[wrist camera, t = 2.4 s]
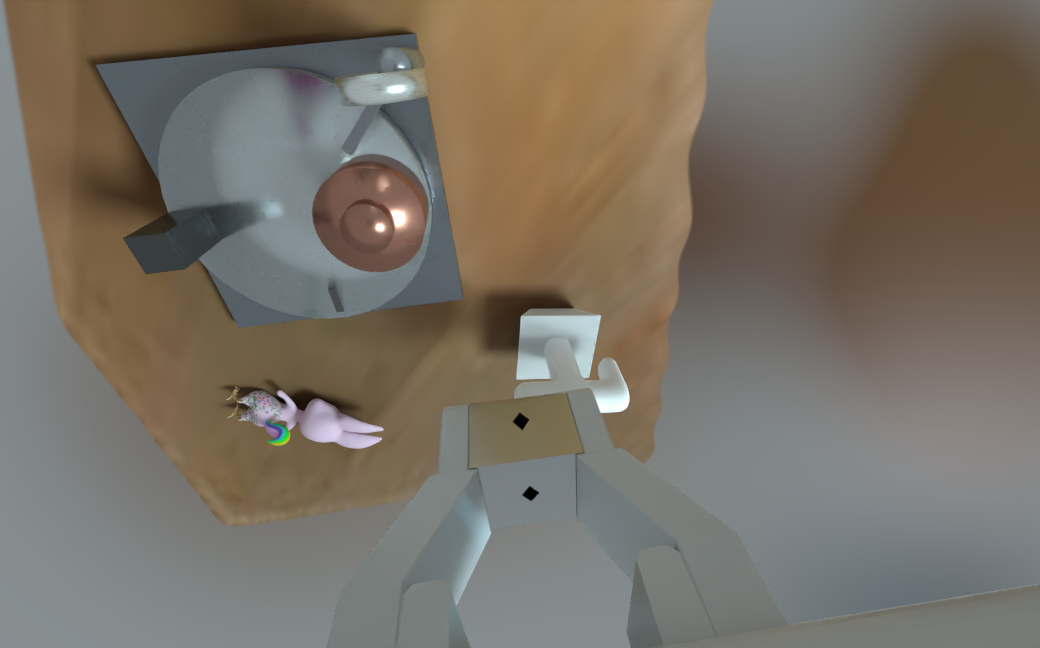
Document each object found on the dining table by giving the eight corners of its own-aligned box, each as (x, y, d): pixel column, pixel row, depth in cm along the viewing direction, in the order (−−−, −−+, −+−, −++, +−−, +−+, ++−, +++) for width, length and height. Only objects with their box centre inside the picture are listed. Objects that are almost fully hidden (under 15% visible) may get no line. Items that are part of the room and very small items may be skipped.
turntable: (118, 81, 27) (22, 91, 21) (402, 53, 28) (385, 55, 22) (243, 318, 37) (202, 369, 31) (450, 292, 38) (447, 337, 32)
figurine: (590, 354, 45) (639, 473, 33) (502, 356, 44) (517, 479, 31) (601, 295, 41) (661, 403, 29) (505, 295, 40) (523, 408, 27)
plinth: (106, 64, 27) (95, 64, 27) (416, 33, 28) (414, 33, 27) (243, 321, 38) (238, 327, 38) (463, 293, 39) (463, 299, 38)
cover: (314, 159, 29) (287, 179, 24) (417, 148, 29) (409, 166, 25) (346, 254, 33) (328, 286, 28) (437, 243, 33) (433, 273, 29)
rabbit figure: (247, 409, 46) (384, 442, 47) (209, 451, 41) (364, 487, 42) (244, 364, 43) (391, 401, 44) (203, 404, 38) (371, 444, 39)
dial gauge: (346, 53, 28) (289, 56, 19) (430, 45, 28) (414, 44, 19) (367, 134, 30) (326, 171, 21) (444, 126, 31) (436, 159, 22)
